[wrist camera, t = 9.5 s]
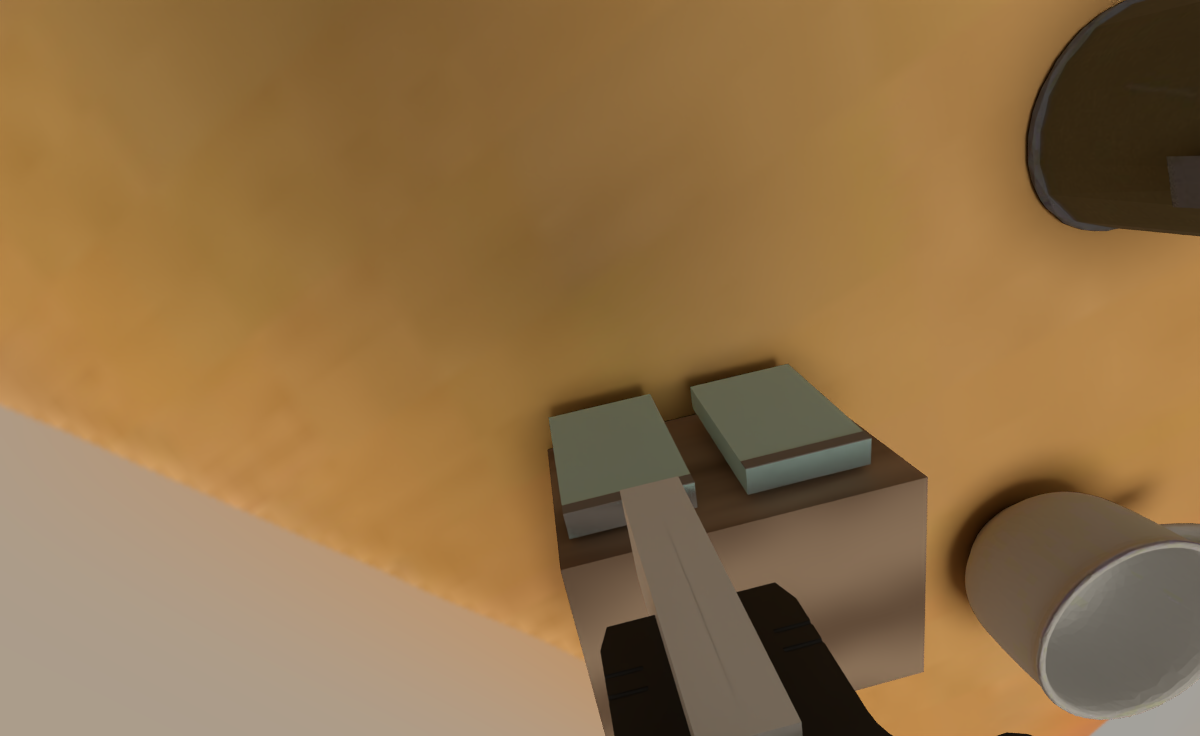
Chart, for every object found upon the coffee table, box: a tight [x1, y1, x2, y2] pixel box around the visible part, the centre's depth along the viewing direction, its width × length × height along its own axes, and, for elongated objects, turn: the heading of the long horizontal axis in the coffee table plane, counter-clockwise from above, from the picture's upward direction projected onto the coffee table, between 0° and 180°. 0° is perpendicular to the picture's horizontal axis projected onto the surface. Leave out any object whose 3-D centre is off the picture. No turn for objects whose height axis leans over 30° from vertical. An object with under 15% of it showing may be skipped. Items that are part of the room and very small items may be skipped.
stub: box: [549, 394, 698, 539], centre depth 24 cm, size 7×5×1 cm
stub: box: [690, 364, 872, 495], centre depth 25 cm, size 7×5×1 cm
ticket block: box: [548, 414, 928, 736], centre depth 26 cm, size 10×14×9 cm
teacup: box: [965, 492, 1200, 720], centre depth 32 cm, size 14×11×8 cm
